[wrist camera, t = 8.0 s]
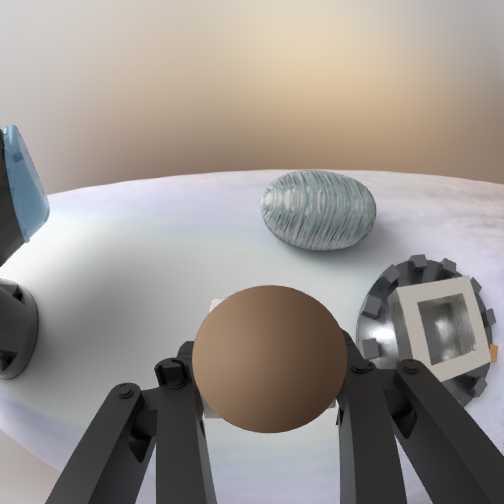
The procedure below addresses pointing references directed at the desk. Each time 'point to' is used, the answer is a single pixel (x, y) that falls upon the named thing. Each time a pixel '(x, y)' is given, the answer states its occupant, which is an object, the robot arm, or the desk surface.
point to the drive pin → (269, 359)
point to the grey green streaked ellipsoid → (318, 210)
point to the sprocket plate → (429, 324)
